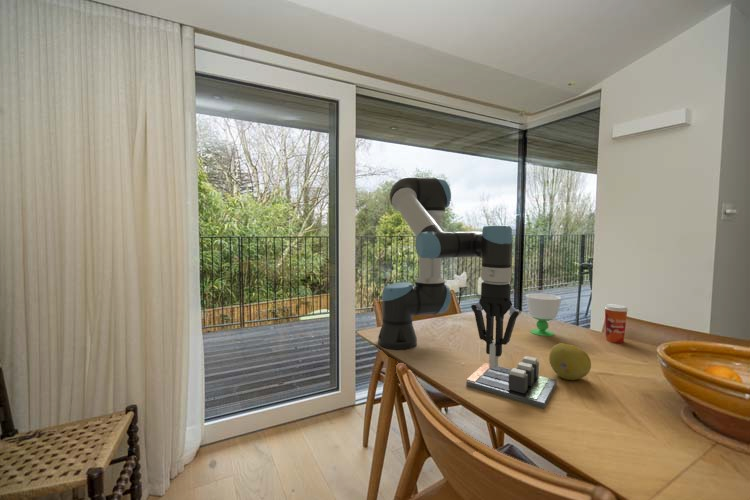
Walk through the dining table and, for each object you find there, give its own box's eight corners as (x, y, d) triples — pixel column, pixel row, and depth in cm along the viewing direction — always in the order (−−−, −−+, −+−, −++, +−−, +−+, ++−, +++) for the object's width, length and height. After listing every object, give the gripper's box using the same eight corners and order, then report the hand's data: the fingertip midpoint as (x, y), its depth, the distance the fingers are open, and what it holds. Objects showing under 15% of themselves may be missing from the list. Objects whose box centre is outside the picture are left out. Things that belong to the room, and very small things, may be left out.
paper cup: (605, 342, 130) (607, 307, 129) (600, 336, 137) (601, 303, 136) (630, 345, 127) (631, 308, 126) (623, 339, 134) (625, 304, 133)
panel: (465, 385, 95) (465, 379, 94) (485, 367, 107) (486, 362, 107) (543, 408, 82) (544, 402, 82) (556, 385, 95) (556, 379, 94)
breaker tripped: (508, 389, 88) (508, 370, 88) (511, 385, 90) (512, 367, 90) (524, 393, 86) (524, 374, 85) (527, 389, 88) (527, 370, 88)
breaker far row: (521, 375, 97) (521, 358, 96) (523, 371, 99) (524, 355, 99) (536, 378, 94) (536, 361, 94) (538, 375, 96) (538, 358, 96)
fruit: (590, 388, 92) (591, 353, 92) (547, 379, 98) (548, 346, 98) (590, 375, 101) (591, 342, 100) (550, 367, 107) (551, 336, 106)
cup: (561, 331, 144) (562, 295, 144) (559, 340, 133) (560, 300, 132) (527, 326, 152) (527, 292, 151) (522, 334, 140) (523, 297, 139)
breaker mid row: (515, 382, 92) (515, 364, 92) (518, 378, 95) (519, 361, 94) (531, 386, 90) (531, 367, 89) (533, 382, 92) (534, 364, 92)
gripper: (467, 281, 91) (465, 364, 93) (517, 286, 83) (514, 378, 85) (477, 277, 97) (475, 356, 99) (525, 282, 89) (522, 368, 91)
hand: (493, 366), depth 92 cm, fingers closed
